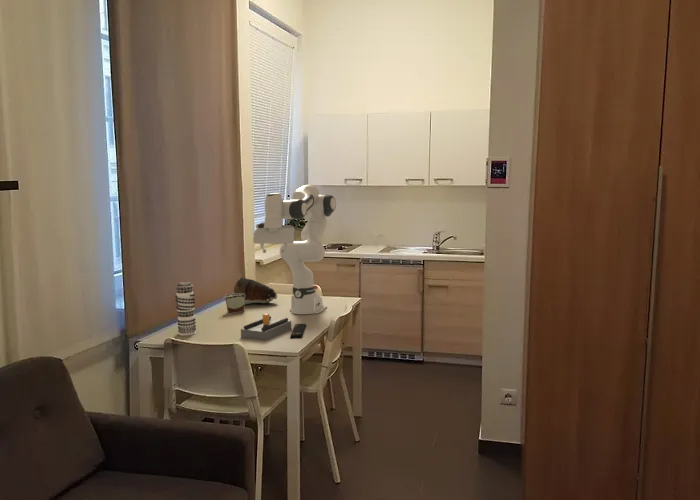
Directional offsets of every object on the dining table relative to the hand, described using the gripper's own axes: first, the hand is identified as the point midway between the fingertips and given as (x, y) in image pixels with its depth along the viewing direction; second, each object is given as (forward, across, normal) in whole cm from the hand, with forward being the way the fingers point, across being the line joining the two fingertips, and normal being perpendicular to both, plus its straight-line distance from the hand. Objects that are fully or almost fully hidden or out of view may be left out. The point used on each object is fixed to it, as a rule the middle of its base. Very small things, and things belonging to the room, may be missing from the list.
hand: (273, 252), depth 304 cm
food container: (+34, +27, -35) cm, 56 cm away
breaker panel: (+38, +2, +13) cm, 40 cm away
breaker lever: (+34, +2, +13) cm, 37 cm away
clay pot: (+32, +18, -55) cm, 65 cm away
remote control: (+38, -13, +11) cm, 42 cm away
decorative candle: (+39, +41, +9) cm, 57 cm away
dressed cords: (+34, +2, +13) cm, 37 cm away
